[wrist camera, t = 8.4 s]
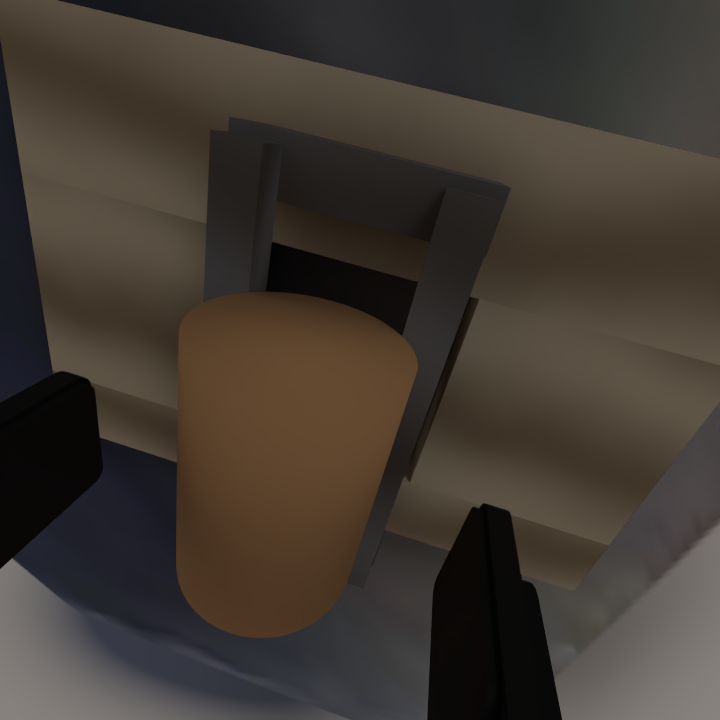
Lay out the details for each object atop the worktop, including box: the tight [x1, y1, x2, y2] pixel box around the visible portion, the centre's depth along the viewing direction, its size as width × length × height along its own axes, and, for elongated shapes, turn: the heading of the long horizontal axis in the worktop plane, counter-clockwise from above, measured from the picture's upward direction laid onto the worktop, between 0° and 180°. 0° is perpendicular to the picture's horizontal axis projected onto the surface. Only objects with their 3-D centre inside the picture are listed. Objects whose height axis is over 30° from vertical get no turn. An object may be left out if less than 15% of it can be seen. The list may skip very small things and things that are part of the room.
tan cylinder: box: [176, 292, 418, 638], centre depth 11 cm, size 7×5×5 cm
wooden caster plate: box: [0, 0, 720, 591], centre depth 14 cm, size 16×24×6 cm, turn 77°
